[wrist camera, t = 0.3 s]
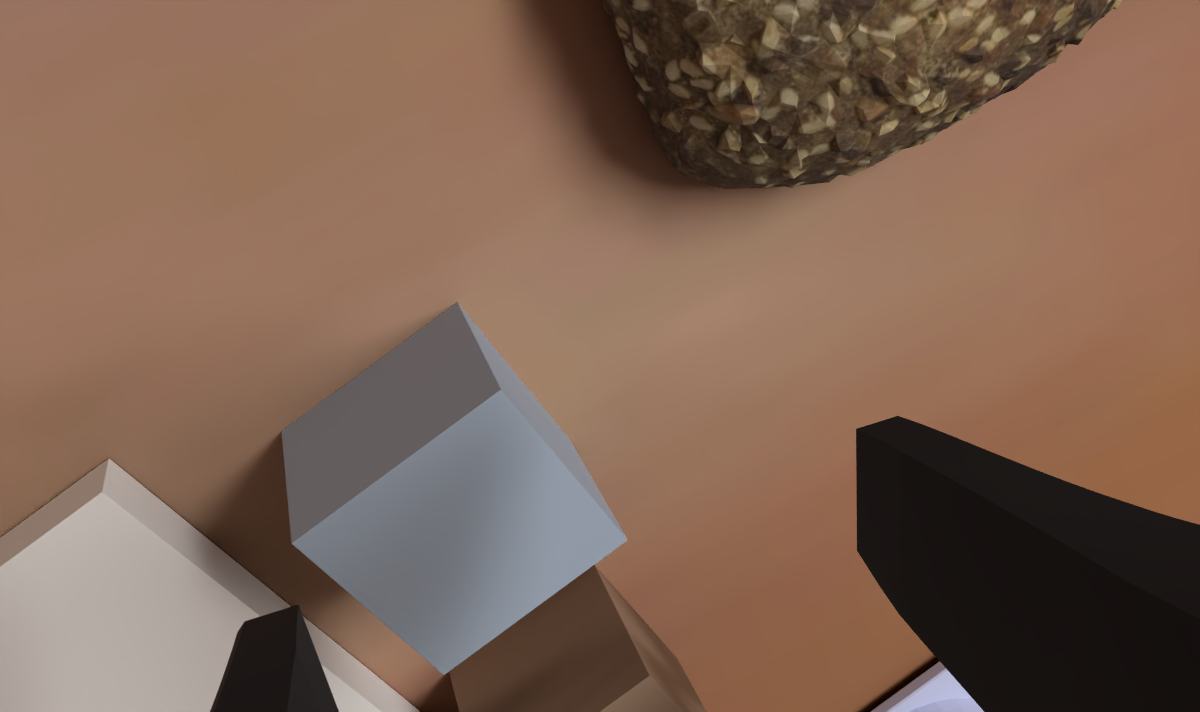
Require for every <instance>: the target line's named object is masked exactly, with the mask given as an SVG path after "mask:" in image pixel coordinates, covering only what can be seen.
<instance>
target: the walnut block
mask: <svg viewBox="0 0 1200 712" xmlns="http://www.w3.org/2000/svg"><path fill="white" fill-rule="evenodd" d="M449 674H450V678H451V682H452V686H453V689H454V693H455V697H456V701H457V705H458V709H459V712H706V711H705V709H704V707H703V705H702V703H701V701H700V699H699V698H698V696H697V694H696V692H695V690H694V688H693V687H692V685H691V683H690V681H689V679H688V677H687V676H686V674H685V672H684V670H683V668H682V666H681V665H680V663H679V661H678V659H677V657H676V656H675V655H674V654H673V653H672V652H671V651H670V650H669V648H668V647H667V646H666V645H665V644H664V643H663V642H662V641H661V639H660V638H659V637H658V636H657V635H656V634H655V633H654V632H653V630H652V629H651V628H650V627H649V626H648V625H647V624H646V623H645V621H644V620H643V619H642V618H641V617H640V616H639V615H638V614H637V612H636V611H635V610H634V609H633V608H632V607H631V606H630V604H629V603H628V602H627V601H626V600H625V599H624V598H623V597H622V595H621V594H620V593H619V592H618V591H617V590H616V589H615V588H614V586H613V585H612V584H611V583H610V582H609V581H608V580H607V579H606V577H605V576H604V575H603V574H602V573H601V572H600V571H599V570H598V568H597V567H596V566H595V565H593V566H592V567H591V568H589V569H588V570H586V571H585V572H584V573H582V574H581V575H580V576H578V577H577V578H576V579H574V580H573V581H571V582H570V583H569V584H567V585H566V586H565V587H563V588H562V589H560V590H559V591H558V592H556V593H555V594H554V595H552V596H551V597H550V598H548V599H547V600H546V601H544V602H543V603H541V604H540V605H539V606H537V607H536V608H535V609H533V610H532V611H531V612H529V613H528V614H526V615H525V616H524V617H522V618H521V619H520V620H518V621H517V622H516V623H514V624H513V625H512V626H510V627H509V628H507V629H506V630H505V631H503V632H502V633H501V634H499V635H498V636H497V637H495V638H494V639H492V640H491V641H490V642H488V643H487V644H486V645H484V646H483V647H482V648H480V649H479V650H477V651H476V652H475V653H473V654H472V655H471V656H469V657H468V658H467V659H465V660H464V661H463V662H461V663H460V664H458V665H457V666H456V667H454V668H453V669H452V670H450V671H449Z"/></svg>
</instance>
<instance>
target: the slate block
mask: <svg viewBox="0 0 1200 712" xmlns="http://www.w3.org/2000/svg"><path fill="white" fill-rule="evenodd" d="M281 432H282V443H283V454H284V465H285V476H286V487H287V498H288V510H289V521H290V532H291V543H292V544H293V545H294V546H295V547H296V548H297V549H298V550H300V551H301V552H302V553H303V554H304V555H305V556H307V557H308V558H309V559H310V560H311V561H312V562H314V563H315V564H316V565H317V566H318V567H319V568H320V569H322V570H323V571H324V572H325V573H326V574H327V575H329V576H330V577H331V578H332V579H333V580H334V581H336V582H337V583H338V584H339V585H340V586H341V587H342V588H344V589H345V590H346V591H347V592H348V593H349V594H351V595H352V596H353V597H354V598H355V599H356V600H358V601H359V602H360V603H361V604H362V605H363V606H364V607H366V608H367V609H368V610H369V611H370V612H371V613H373V614H374V615H375V616H376V617H377V618H378V619H380V620H381V621H382V622H383V623H384V624H385V625H386V626H388V627H389V628H390V629H391V630H392V631H393V632H395V633H396V634H397V635H398V636H399V637H400V638H402V639H403V640H404V641H405V642H406V643H407V644H408V645H410V646H411V647H412V648H413V649H414V650H415V651H417V652H418V653H419V654H420V655H421V656H422V657H424V658H425V659H426V660H427V661H428V662H429V663H430V664H432V665H433V666H434V667H435V668H436V669H437V670H439V671H440V672H441V673H442V674H443V675H445V674H446V673H448V672H449V671H450V670H452V669H453V668H454V667H456V666H457V665H458V664H460V663H461V662H463V661H464V660H465V659H467V658H468V657H469V656H471V655H472V654H473V653H475V652H476V651H477V650H479V649H480V648H482V647H483V646H484V645H486V644H487V643H488V642H490V641H491V640H492V639H494V638H495V637H497V636H498V635H499V634H501V633H502V632H503V631H505V630H506V629H507V628H509V627H510V626H512V625H513V624H514V623H516V622H517V621H518V620H520V619H521V618H522V617H524V616H525V615H526V614H528V613H529V612H531V611H532V610H533V609H535V608H536V607H537V606H539V605H540V604H541V603H543V602H544V601H546V600H547V599H548V598H550V597H551V596H552V595H554V594H555V593H556V592H558V591H559V590H560V589H562V588H563V587H565V586H566V585H567V584H569V583H570V582H571V581H573V580H574V579H575V578H577V577H578V576H580V575H581V574H582V573H584V572H585V571H586V570H588V569H589V568H590V567H592V566H593V565H595V564H596V563H597V562H599V561H600V560H601V559H603V558H604V557H605V556H607V555H608V554H609V553H611V552H612V551H614V550H615V549H616V548H618V547H619V546H620V545H622V544H623V543H624V542H626V541H627V538H626V536H625V535H624V533H623V531H622V529H621V528H620V526H619V524H618V522H617V521H616V519H615V517H614V516H613V514H612V512H611V510H610V509H609V507H608V505H607V503H606V502H605V500H604V498H603V496H602V495H601V493H600V491H599V489H598V488H597V486H596V484H595V482H594V481H593V479H592V477H591V476H590V474H589V472H588V470H587V469H586V467H585V465H584V463H583V462H582V460H581V458H580V456H579V455H578V453H577V451H576V449H575V448H574V446H573V444H572V443H571V441H570V439H569V438H568V437H567V436H566V435H565V433H564V432H563V431H562V430H561V428H560V427H559V426H558V425H557V424H556V422H555V421H554V420H553V419H552V417H551V416H550V415H549V414H548V413H547V411H546V410H545V409H544V408H543V406H542V405H541V404H540V403H539V401H538V400H537V399H536V398H535V397H534V395H533V394H532V393H531V392H530V390H529V389H528V388H527V387H526V386H525V384H524V383H523V382H522V381H521V379H520V378H519V377H518V376H517V375H516V373H515V372H514V371H513V370H512V368H511V367H510V366H509V365H508V364H507V362H506V361H505V360H504V359H503V357H502V356H501V355H500V354H499V353H498V351H497V350H496V349H495V348H494V346H493V345H492V344H491V343H490V342H489V340H488V339H487V338H486V337H485V335H484V334H483V333H482V332H481V331H480V329H479V328H478V327H477V326H476V324H475V323H474V322H473V321H472V319H471V318H470V317H469V316H468V315H467V313H466V312H465V311H464V310H463V308H462V307H461V306H460V305H459V304H458V302H457V303H455V304H454V305H453V306H451V307H450V308H449V309H447V310H446V311H445V312H443V313H442V314H440V315H439V316H438V317H436V318H435V319H434V320H432V321H431V322H430V323H428V324H427V325H425V326H424V327H423V328H421V329H420V330H419V331H417V332H416V333H415V334H413V335H412V336H411V337H409V338H408V339H406V340H405V341H404V342H402V343H401V344H400V345H398V346H397V347H396V348H394V349H393V350H391V351H390V352H389V353H387V354H386V355H385V356H383V357H382V358H381V359H379V360H378V361H376V362H375V363H374V364H372V365H371V366H370V367H368V368H367V369H366V370H364V371H363V372H361V373H360V374H359V375H357V376H356V377H355V378H353V379H352V380H351V381H349V382H348V383H347V384H345V385H344V386H342V387H341V388H340V389H338V390H337V391H336V392H334V393H333V394H332V395H330V396H329V397H327V398H326V399H325V400H323V401H322V402H321V403H319V404H318V405H317V406H315V407H314V408H312V409H311V410H310V411H308V412H307V413H306V414H304V415H303V416H302V417H300V418H299V419H297V420H296V421H295V422H293V423H292V424H291V425H289V426H288V427H287V428H285V429H284V430H283V431H281Z"/></svg>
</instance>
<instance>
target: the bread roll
mask: <svg viewBox="0 0 1200 712" xmlns="http://www.w3.org/2000/svg"><path fill="white" fill-rule="evenodd" d="M1121 1H1122V0H601V2H602V5H603V8H604V10H605V12H606V13H607V14H608V15H609V16H610V18H611V19H612V20H613V21H614V24H615V27H616V30H617V32H618V35H619V37H620V39H621V41H622V46H623V51H624V55H625V58H626V60H627V63H628V66H629V68H630V71H631V74H632V76H633V79H634V80H636V84H637V90H638V93H637V97H638V99H639V100H640V101H641V102H642V103H643V104H644V106H645V107H646V108H647V112H648V116H649V120H650V124H651V128H652V132H653V134H654V135H655V137H656V139H657V140H658V142H659V144H660V145H661V147H662V149H663V150H664V152H665V154H666V155H667V157H668V159H669V160H670V161H671V163H672V164H673V165H674V167H675V168H676V169H677V170H678V171H680V172H681V173H682V174H684V175H685V176H687V177H689V178H692V179H694V180H697V181H699V182H703V183H708V184H711V185H714V186H717V187H720V188H723V189H732V188H768V187H780V186H786V187H791V188H793V187H795V186H798V185H805V184H815V183H825V182H830V181H831V180H832V179H834V178H835V177H836V176H838V175H841V174H842V175H847V176H851V175H853V174H855V173H857V172H859V171H862V170H864V169H866V168H868V167H870V166H874V165H875V164H876V163H878V162H880V161H882V160H884V159H885V158H887V157H889V156H891V155H893V154H895V153H897V152H898V151H900V150H902V149H905V148H909V147H913V146H916V145H918V144H921V145H922V144H923V143H924V142H927V141H930V140H931V139H932V138H933V137H934V136H935V135H936V134H937V133H938V132H940V131H942V130H943V129H946V128H948V127H950V126H951V125H953V124H954V123H956V122H957V121H959V120H963V119H965V118H967V117H969V115H970V114H973V113H976V112H977V111H978V110H979V109H980V107H981V106H982V105H983V104H985V103H987V102H988V101H990V100H992V99H995V98H996V97H998V96H1000V95H1001V94H1004V93H1006V92H1009V91H1012V90H1014V89H1016V88H1017V87H1018V86H1020V85H1021V84H1022V83H1024V82H1025V81H1026V80H1027V79H1029V78H1030V77H1031V76H1033V75H1034V74H1035V73H1036V72H1038V71H1039V70H1041V69H1043V68H1044V67H1046V66H1047V65H1048V64H1051V63H1054V62H1056V61H1057V59H1058V57H1059V54H1060V53H1061V52H1062V50H1063V49H1064V48H1065V47H1066V45H1067V44H1075V45H1078V44H1079V43H1080V42H1081V41H1082V39H1083V38H1084V36H1085V34H1086V33H1087V31H1088V30H1089V29H1090V28H1091V27H1092V26H1093V25H1094V24H1095V23H1096V22H1097V21H1098V20H1099V19H1101V18H1102V17H1104V16H1105V14H1106V13H1108V12H1109V11H1110V10H1111V9H1117V8H1118V6H1119V4H1120V3H1121Z"/></svg>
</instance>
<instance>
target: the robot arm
mask: <svg viewBox="0 0 1200 712" xmlns="http://www.w3.org/2000/svg"><path fill="white" fill-rule="evenodd" d="M856 460H857V551H858V553H859V554H860V556H861V557H862V559H863V561H864V562H865V564H866V565H867V567H868V568H869V570H870V571H871V573H872V575H873V576H874V578H875V579H876V581H877V582H878V584H879V586H880V587H881V588H882V590H883V591H884V593H885V594H886V596H887V597H888V599H889V600H890V602H891V603H892V604H893V606H894V607H895V609H896V610H897V612H898V613H899V614H900V616H901V617H902V618H903V619H904V620H905V622H906V623H907V624H908V625H909V626H910V627H911V629H912V630H913V631H914V632H915V633H916V634H917V636H918V637H919V638H920V639H921V640H922V641H923V643H924V644H925V645H926V646H927V647H928V648H929V650H930V651H931V652H932V653H933V654H934V655H935V656H936V658H937V659H938V660H939V662H938V663H936V664H935V665H934V666H932V667H931V668H930V669H928V670H927V671H925V672H924V673H923V674H921V675H920V676H919V677H917V678H916V679H915V680H913V681H912V682H910V683H909V684H908V685H906V686H905V687H904V688H902V689H901V690H899V691H898V692H897V693H895V694H894V695H893V696H891V697H890V698H888V699H887V700H886V701H884V702H883V703H882V704H880V705H879V706H877V707H876V708H875V709H873V710H872V711H871V712H1200V525H1198V524H1195V523H1191V522H1187V521H1183V520H1180V519H1176V518H1173V517H1170V516H1167V515H1163V514H1160V513H1157V512H1153V511H1150V510H1147V509H1144V508H1141V507H1138V506H1135V505H1132V504H1129V503H1126V502H1123V501H1120V500H1117V499H1114V498H1111V497H1108V496H1105V495H1102V494H1099V493H1097V492H1094V491H1091V490H1088V489H1085V488H1083V487H1080V486H1077V485H1074V484H1072V483H1069V482H1066V481H1064V480H1061V479H1058V478H1056V477H1053V476H1050V475H1048V474H1045V473H1043V472H1040V471H1037V470H1035V469H1032V468H1030V467H1027V466H1025V465H1022V464H1020V463H1017V462H1015V461H1012V460H1010V459H1007V458H1005V457H1002V456H1000V455H997V454H995V453H992V452H990V451H987V450H985V449H982V448H980V447H977V446H975V445H973V444H970V443H968V442H965V441H963V440H960V439H958V438H955V437H953V436H950V435H948V434H945V433H943V432H940V431H938V430H935V429H933V428H930V427H927V426H925V425H922V424H919V423H917V422H914V421H911V420H908V419H905V418H902V417H899V416H896V417H893V418H890V419H886V420H883V421H880V422H877V423H874V424H871V425H867V426H864V427H861V428H858V429H856ZM210 712H339V710H338V708H337V705H336V702H335V700H334V697H333V694H332V692H331V689H330V687H329V684H328V681H327V679H326V676H325V673H324V671H323V668H322V665H321V663H320V660H319V657H318V655H317V652H316V650H315V647H314V644H313V642H312V639H311V636H310V634H309V631H308V628H307V626H306V623H305V621H304V618H303V615H302V613H301V610H300V607H299V605H295V606H292V607H289V608H285V609H282V610H279V611H276V612H273V613H270V614H266V615H263V616H260V617H257V618H254V619H250V620H247V621H245V622H244V623H243V625H242V626H241V628H240V629H239V631H238V632H237V635H236V638H235V642H234V645H233V648H232V651H231V654H230V657H229V660H228V663H227V666H226V669H225V672H224V675H223V678H222V681H221V683H220V686H219V689H218V692H217V694H216V697H215V700H214V702H213V705H212V708H211V710H210Z"/></svg>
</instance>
